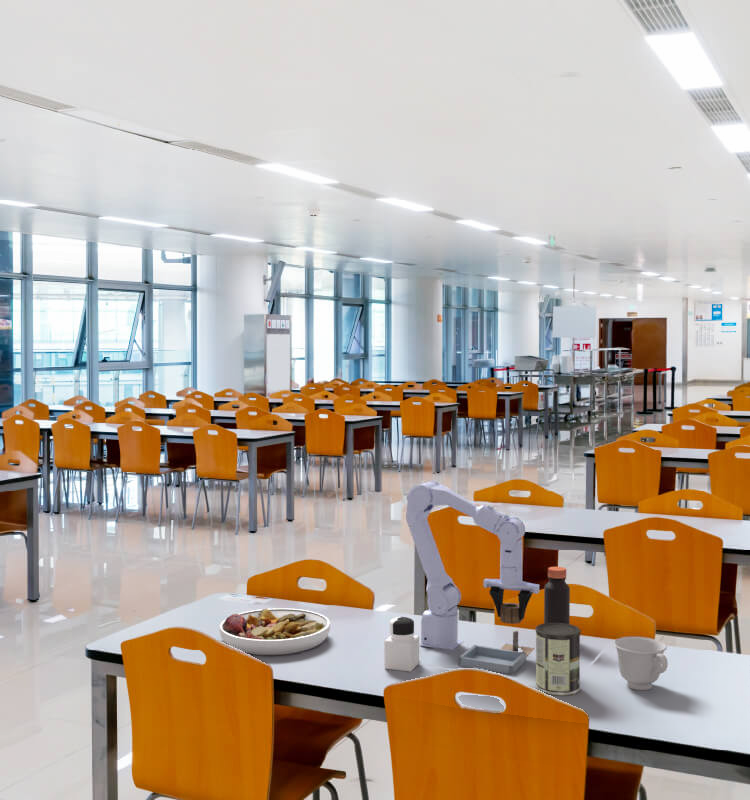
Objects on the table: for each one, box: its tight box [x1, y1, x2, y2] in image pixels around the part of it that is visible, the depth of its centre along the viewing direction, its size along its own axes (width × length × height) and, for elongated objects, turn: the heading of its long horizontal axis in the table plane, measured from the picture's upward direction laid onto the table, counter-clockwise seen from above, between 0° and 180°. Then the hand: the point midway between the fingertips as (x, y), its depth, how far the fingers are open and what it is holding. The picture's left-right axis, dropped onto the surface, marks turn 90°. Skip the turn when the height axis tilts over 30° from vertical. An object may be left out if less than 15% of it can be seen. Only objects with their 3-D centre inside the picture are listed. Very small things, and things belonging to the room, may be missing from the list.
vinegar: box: [543, 566, 571, 624], centre depth 248 cm, size 7×7×20 cm
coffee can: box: [535, 622, 581, 696], centre depth 214 cm, size 10×10×14 cm
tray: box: [458, 644, 527, 675], centre depth 230 cm, size 14×11×2 cm
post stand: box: [500, 630, 536, 657], centre depth 239 cm, size 8×8×6 cm
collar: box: [499, 602, 523, 625], centre depth 237 cm, size 5×5×4 cm
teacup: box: [613, 636, 668, 691], centre depth 213 cm, size 12×15×10 cm
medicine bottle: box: [383, 616, 420, 673], centre depth 229 cm, size 7×7×12 cm
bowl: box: [219, 608, 331, 656], centre depth 250 cm, size 30×30×8 cm
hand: (510, 617), depth 237 cm, fingers closed on collar, 5 cm apart
